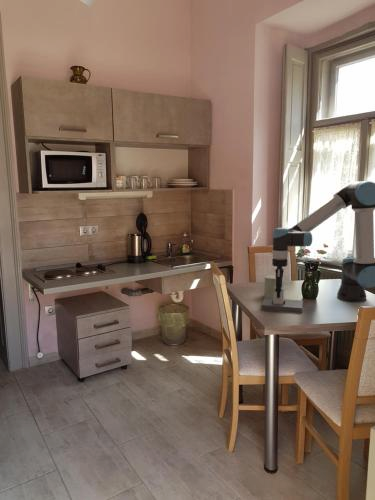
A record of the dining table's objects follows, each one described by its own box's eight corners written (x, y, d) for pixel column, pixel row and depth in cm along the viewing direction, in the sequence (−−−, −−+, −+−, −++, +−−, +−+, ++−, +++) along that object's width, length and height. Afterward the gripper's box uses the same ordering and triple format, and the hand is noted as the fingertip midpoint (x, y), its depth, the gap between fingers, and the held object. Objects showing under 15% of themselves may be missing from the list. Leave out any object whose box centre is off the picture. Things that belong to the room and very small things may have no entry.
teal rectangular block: (283, 302, 208) (284, 287, 207) (283, 304, 204) (283, 289, 203) (273, 301, 210) (274, 286, 208) (273, 303, 206) (273, 288, 205)
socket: (302, 305, 210) (302, 300, 210) (302, 313, 197) (302, 308, 197) (264, 302, 216) (264, 297, 216) (261, 309, 203) (261, 305, 203)
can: (280, 299, 222) (281, 278, 220) (263, 298, 224) (264, 277, 222) (280, 294, 231) (280, 274, 229) (264, 294, 233) (264, 274, 231)
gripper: (273, 255, 212) (272, 297, 216) (270, 260, 196) (269, 306, 200) (288, 255, 210) (286, 298, 214) (286, 261, 194) (285, 307, 198)
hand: (278, 302), depth 207 cm, fingers closed on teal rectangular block, 4 cm apart
